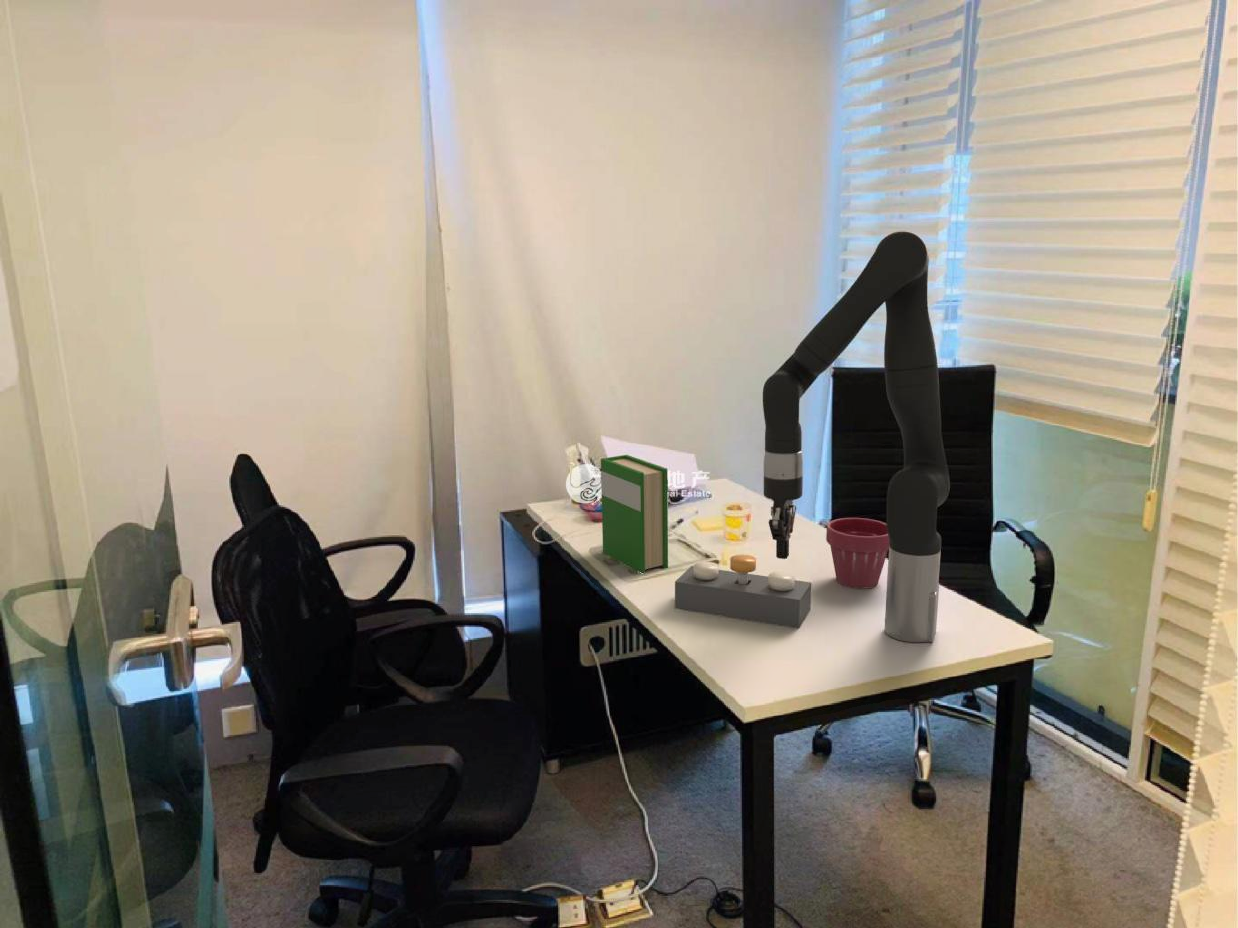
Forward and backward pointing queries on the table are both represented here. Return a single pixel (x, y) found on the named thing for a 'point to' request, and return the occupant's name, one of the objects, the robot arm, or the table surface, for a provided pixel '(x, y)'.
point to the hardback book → (634, 512)
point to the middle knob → (743, 567)
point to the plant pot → (858, 550)
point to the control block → (743, 598)
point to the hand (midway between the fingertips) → (782, 557)
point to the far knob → (705, 570)
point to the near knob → (781, 581)
